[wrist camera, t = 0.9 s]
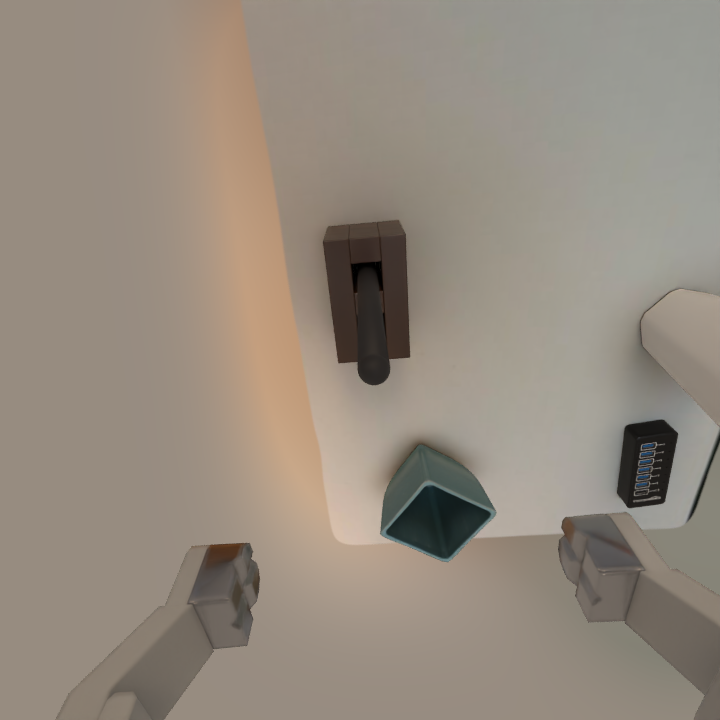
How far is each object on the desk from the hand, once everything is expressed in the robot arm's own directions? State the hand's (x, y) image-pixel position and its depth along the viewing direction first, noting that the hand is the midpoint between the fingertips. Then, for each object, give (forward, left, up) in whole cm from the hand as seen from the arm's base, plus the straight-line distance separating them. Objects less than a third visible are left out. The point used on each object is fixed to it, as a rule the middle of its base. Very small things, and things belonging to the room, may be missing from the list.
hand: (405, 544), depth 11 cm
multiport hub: (+41, 0, -32) cm, 52 cm away
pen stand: (+2, -2, -32) cm, 32 cm away
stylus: (0, -1, -32) cm, 32 cm away
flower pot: (+21, -16, -32) cm, 42 cm away
